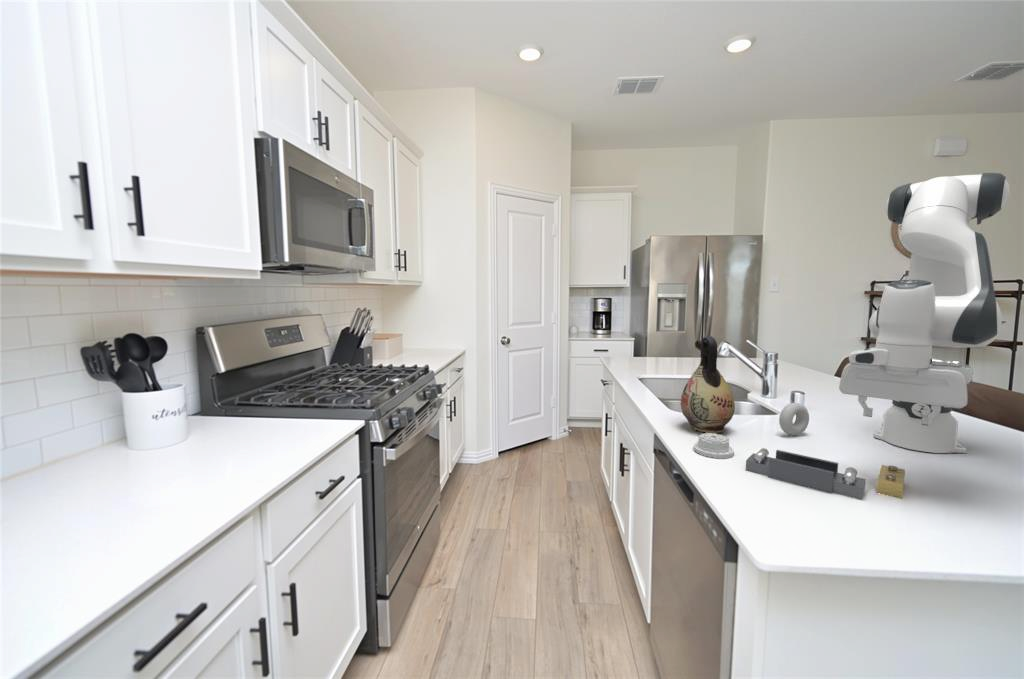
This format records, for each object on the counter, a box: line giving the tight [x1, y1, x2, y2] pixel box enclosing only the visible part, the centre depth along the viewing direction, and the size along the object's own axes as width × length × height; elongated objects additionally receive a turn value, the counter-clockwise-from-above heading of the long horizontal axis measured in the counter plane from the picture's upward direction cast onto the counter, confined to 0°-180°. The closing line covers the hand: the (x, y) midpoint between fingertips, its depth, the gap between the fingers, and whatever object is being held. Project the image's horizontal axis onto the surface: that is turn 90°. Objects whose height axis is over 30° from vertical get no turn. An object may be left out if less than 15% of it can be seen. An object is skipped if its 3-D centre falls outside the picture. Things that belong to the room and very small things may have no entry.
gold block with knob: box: [876, 464, 906, 500], centre depth 93 cm, size 4×10×4 cm, turn 136°
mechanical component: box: [692, 433, 735, 460], centre depth 115 cm, size 10×4×10 cm
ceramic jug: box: [680, 335, 736, 434], centre depth 132 cm, size 17×15×30 cm
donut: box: [778, 402, 810, 437], centre depth 128 cm, size 10×4×10 cm, turn 108°
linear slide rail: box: [745, 447, 867, 501], centre depth 98 cm, size 8×22×4 cm, turn 46°
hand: (896, 420), depth 92 cm, fingers open, 8 cm apart
